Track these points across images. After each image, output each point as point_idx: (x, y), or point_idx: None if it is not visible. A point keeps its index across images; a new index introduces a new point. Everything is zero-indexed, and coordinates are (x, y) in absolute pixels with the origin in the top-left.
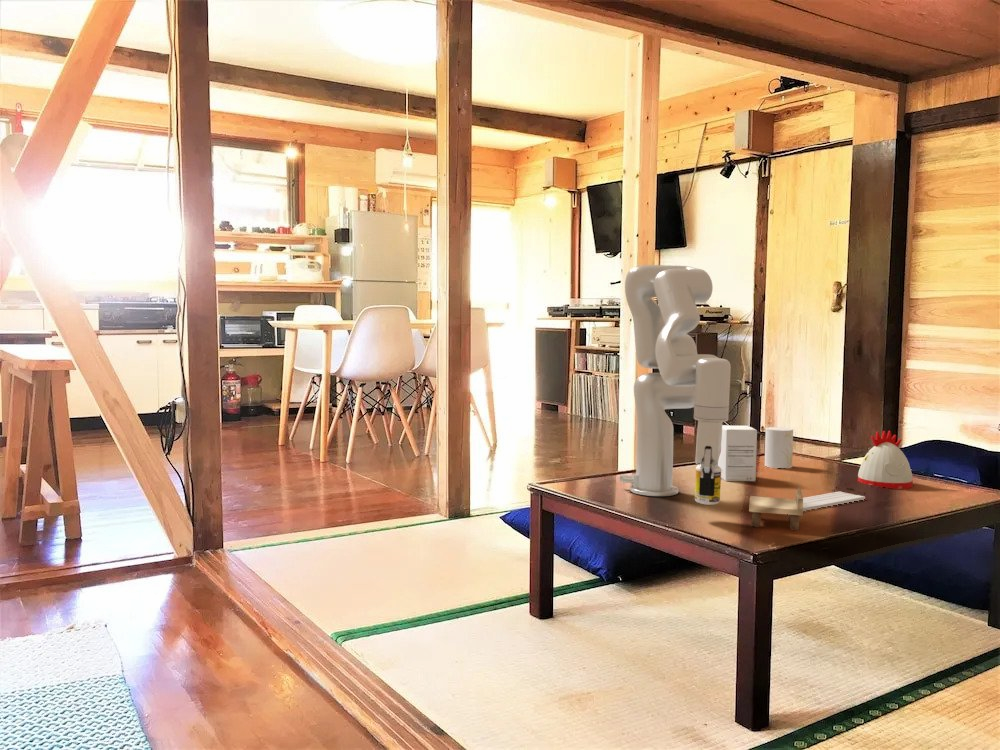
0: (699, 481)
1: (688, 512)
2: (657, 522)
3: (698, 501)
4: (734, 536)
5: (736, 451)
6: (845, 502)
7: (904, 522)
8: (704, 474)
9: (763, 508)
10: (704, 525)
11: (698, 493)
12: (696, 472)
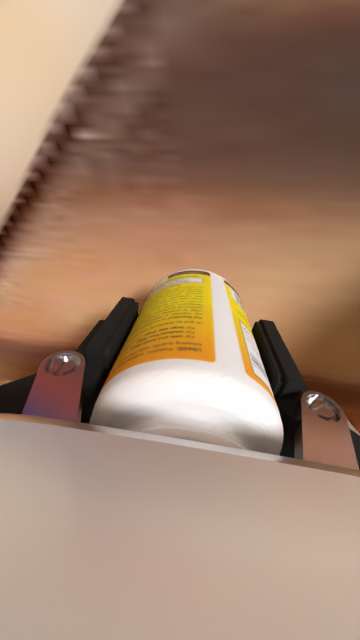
0: (137, 328)
1: (299, 234)
2: (116, 82)
3: (160, 280)
4: (43, 333)
5: None
6: None
7: None
8: (9, 389)
9: None
10: (127, 274)
11: (154, 293)
12: (162, 344)
